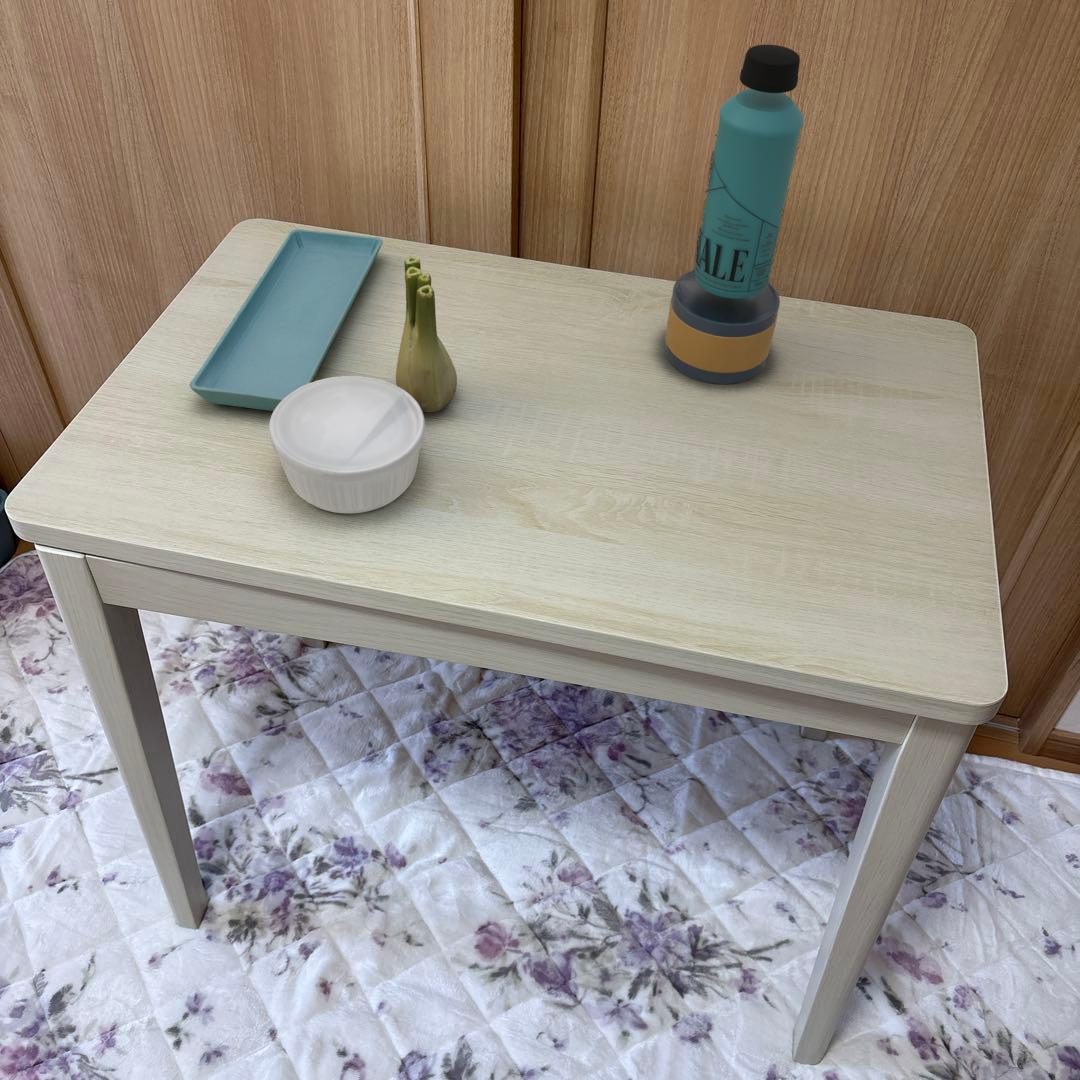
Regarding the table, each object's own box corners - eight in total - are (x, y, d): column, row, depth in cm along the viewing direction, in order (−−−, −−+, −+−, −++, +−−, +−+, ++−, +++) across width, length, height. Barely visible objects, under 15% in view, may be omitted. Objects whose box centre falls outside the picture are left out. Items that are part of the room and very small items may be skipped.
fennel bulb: (407, 375, 89) (398, 248, 81) (463, 382, 89) (461, 255, 80) (389, 418, 85) (379, 289, 77) (449, 425, 85) (445, 297, 76)
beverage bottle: (764, 277, 91) (816, 36, 77) (768, 320, 87) (824, 73, 72) (688, 270, 92) (726, 29, 77) (688, 313, 87) (729, 65, 73)
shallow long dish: (294, 246, 103) (291, 223, 101) (385, 257, 102) (384, 234, 101) (192, 411, 85) (186, 387, 83) (302, 426, 84) (299, 401, 82)
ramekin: (433, 520, 77) (430, 466, 74) (277, 532, 76) (266, 478, 72) (421, 423, 85) (418, 370, 81) (279, 432, 83) (270, 378, 80)
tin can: (735, 316, 98) (747, 258, 93) (786, 373, 92) (801, 314, 87) (646, 334, 95) (654, 275, 91) (692, 393, 89) (703, 333, 85)
